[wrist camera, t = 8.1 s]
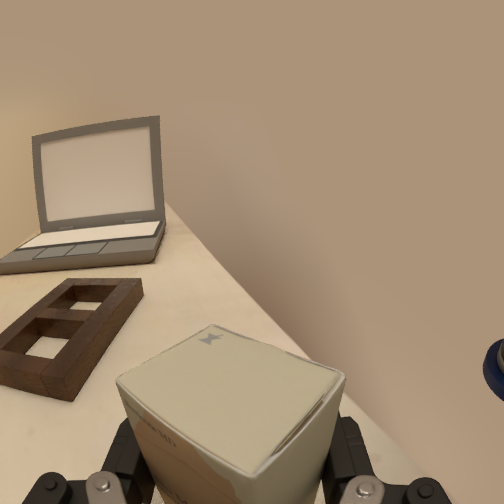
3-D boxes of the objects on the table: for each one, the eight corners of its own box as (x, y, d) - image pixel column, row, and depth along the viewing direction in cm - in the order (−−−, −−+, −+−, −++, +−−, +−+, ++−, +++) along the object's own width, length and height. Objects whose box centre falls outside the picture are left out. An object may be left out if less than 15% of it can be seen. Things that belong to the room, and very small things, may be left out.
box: (176, 530, 11) (104, 371, 8) (231, 484, 15) (208, 316, 11) (261, 586, 8) (253, 479, 5) (313, 527, 11) (351, 366, 8)
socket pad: (144, 295, 43) (141, 277, 42) (72, 402, 22) (62, 379, 21) (70, 293, 43) (67, 278, 42) (-18, 378, 22) (-27, 358, 21)
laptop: (-5, 276, 49) (-23, 134, 41) (44, 241, 74) (33, 136, 66) (155, 263, 55) (143, 97, 46) (166, 229, 80) (159, 116, 71)
